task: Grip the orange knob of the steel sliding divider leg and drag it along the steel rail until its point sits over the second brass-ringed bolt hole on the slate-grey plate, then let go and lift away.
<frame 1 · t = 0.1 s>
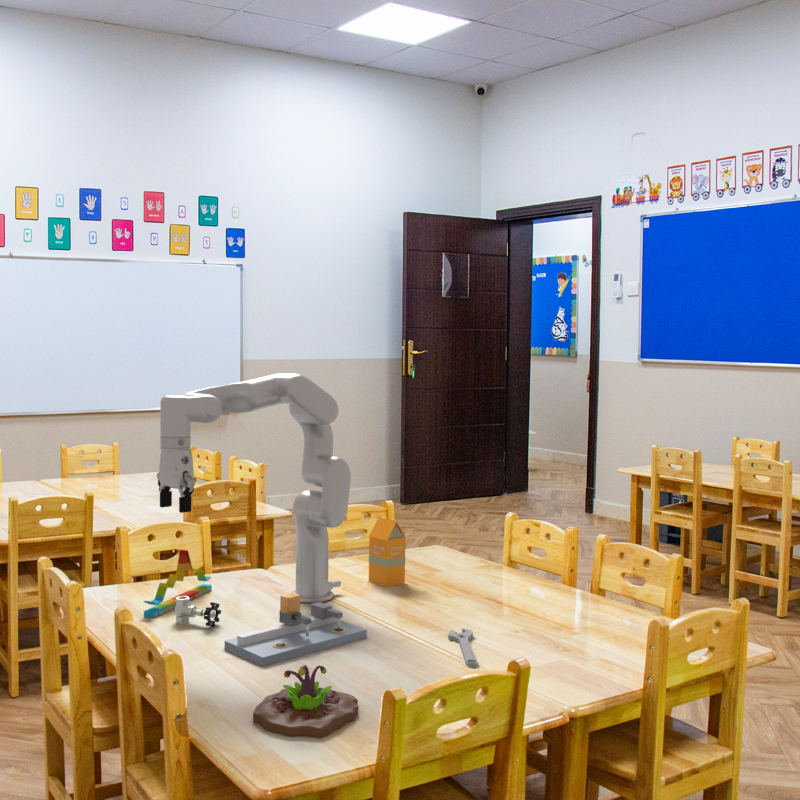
hand: (175, 509, 234), 31 cm above the table, tool pointing down, fingers open, 9 cm apart
valve: (195, 624, 240), on the table
orange juice: (386, 582, 286), on the table
divider leg: (296, 614, 225), point 7 cm above the table, slide at 0.0 cm
chart: (179, 604, 259), on the table
adjustable wrench: (462, 651, 223), on the table
bolt hole plate: (297, 642, 226), on the table
plant: (305, 718, 181), on the table
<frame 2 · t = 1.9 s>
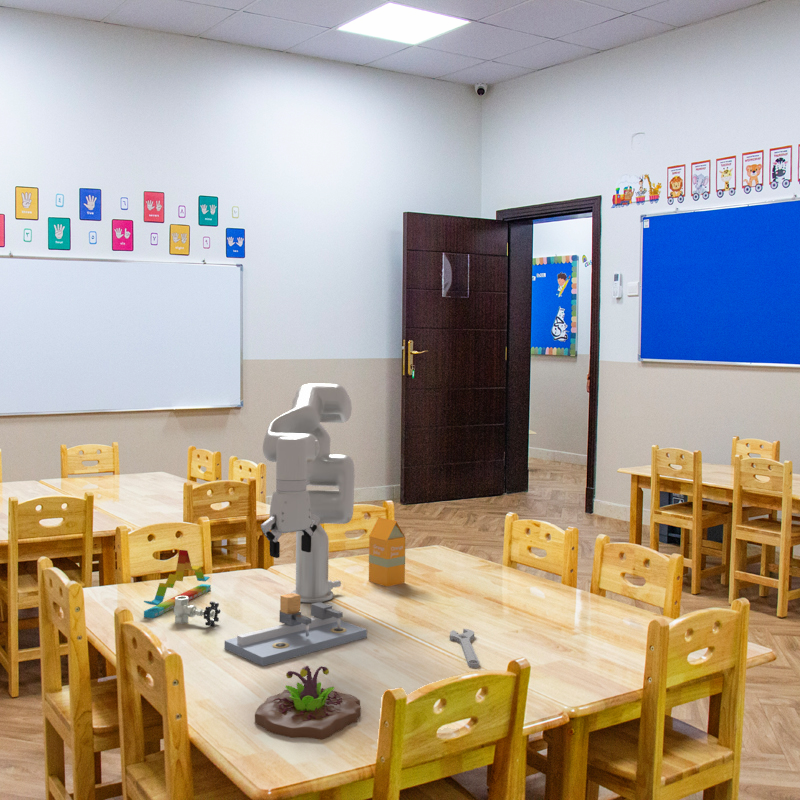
hand: (290, 554, 226), 22 cm above the table, tool pointing down, fingers open, 9 cm apart
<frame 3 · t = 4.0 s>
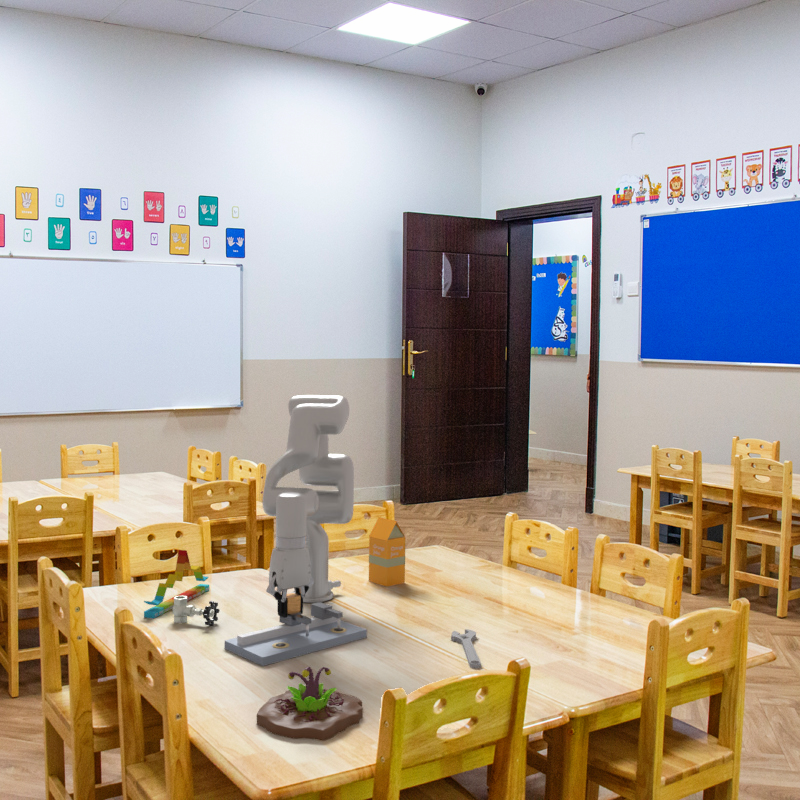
hand: (290, 613, 227), 7 cm above the table, tool pointing down, fingers closed on divider leg, 4 cm apart
divider leg: (296, 614, 225), point 7 cm above the table, slide at 0.0 cm, touching gripper
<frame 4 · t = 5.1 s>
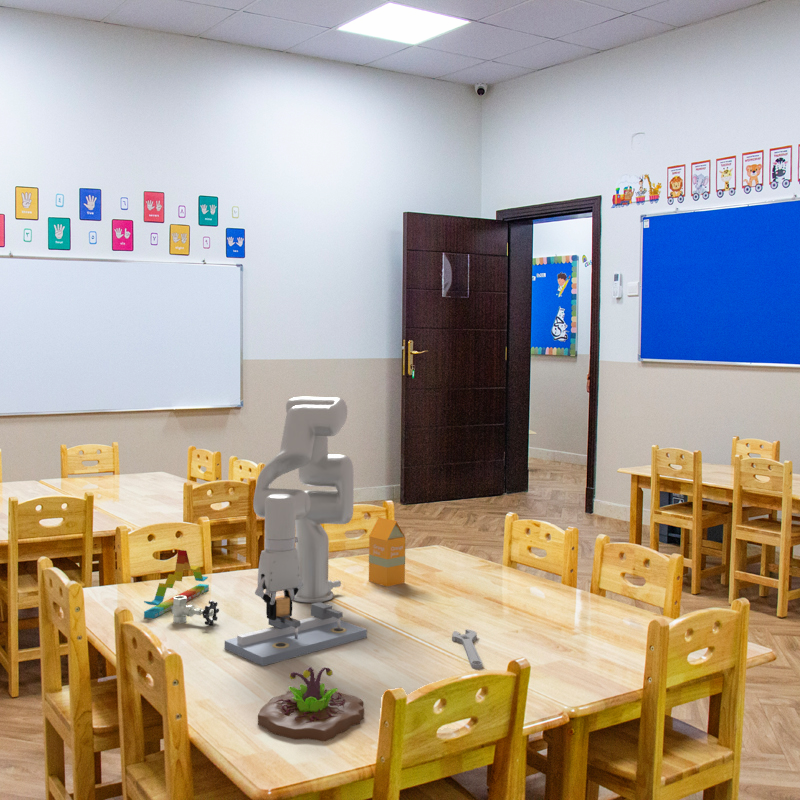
hand: (279, 616, 225), 7 cm above the table, tool pointing down, fingers closed on divider leg, 4 cm apart
divider leg: (285, 617, 223), point 7 cm above the table, slide at 3.4 cm, touching gripper
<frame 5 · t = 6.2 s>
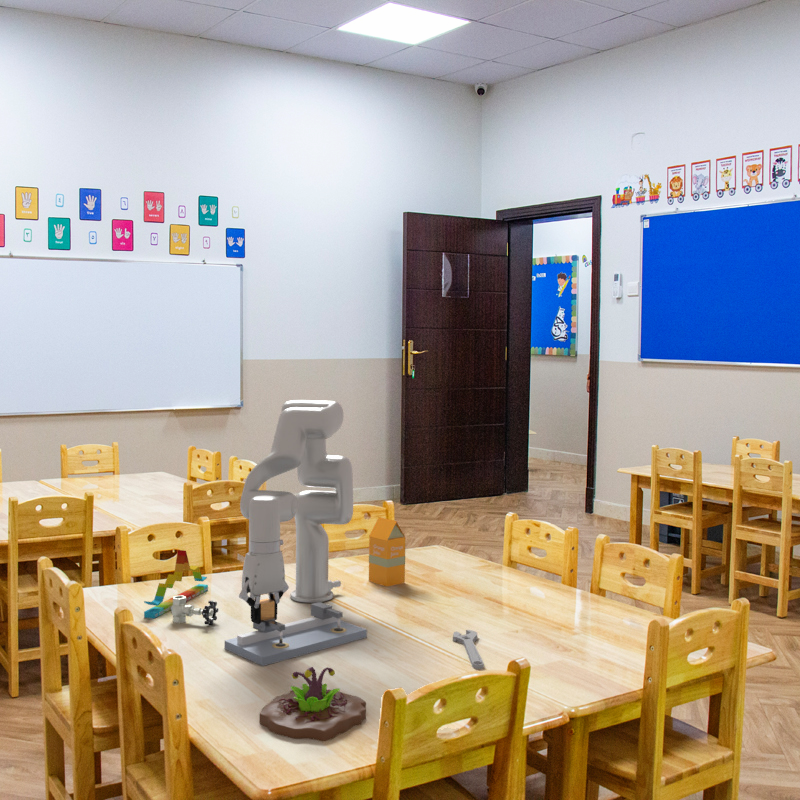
hand: (264, 620, 222), 7 cm above the table, tool pointing down, fingers closed on divider leg, 4 cm apart
divider leg: (270, 620, 220), point 7 cm above the table, slide at 8.0 cm, touching gripper
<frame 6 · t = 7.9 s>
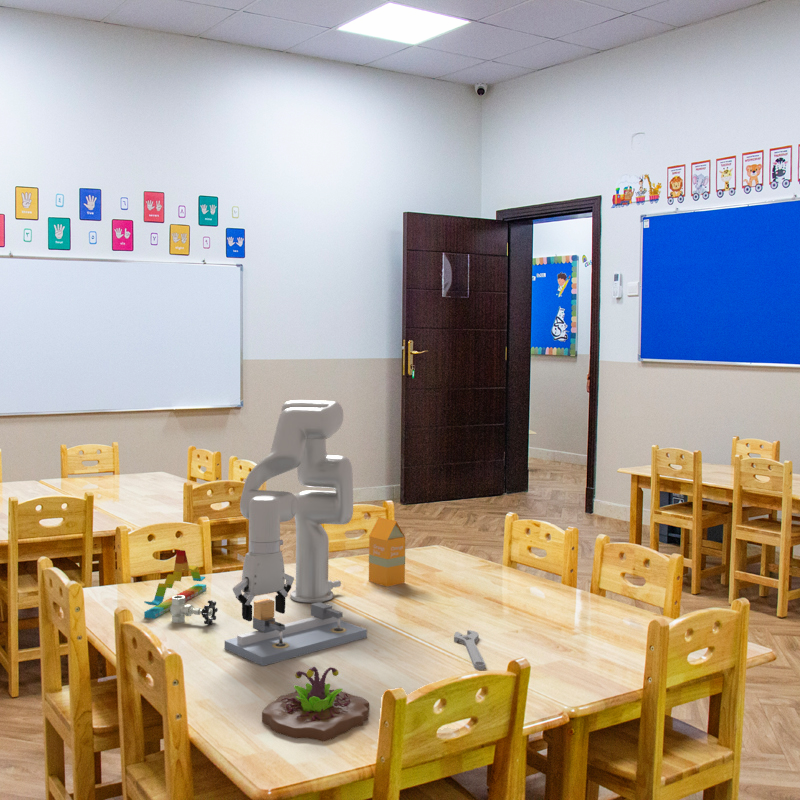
hand: (263, 616, 222), 8 cm above the table, tool pointing down, fingers open, 9 cm apart
divider leg: (269, 620, 220), point 7 cm above the table, slide at 8.0 cm
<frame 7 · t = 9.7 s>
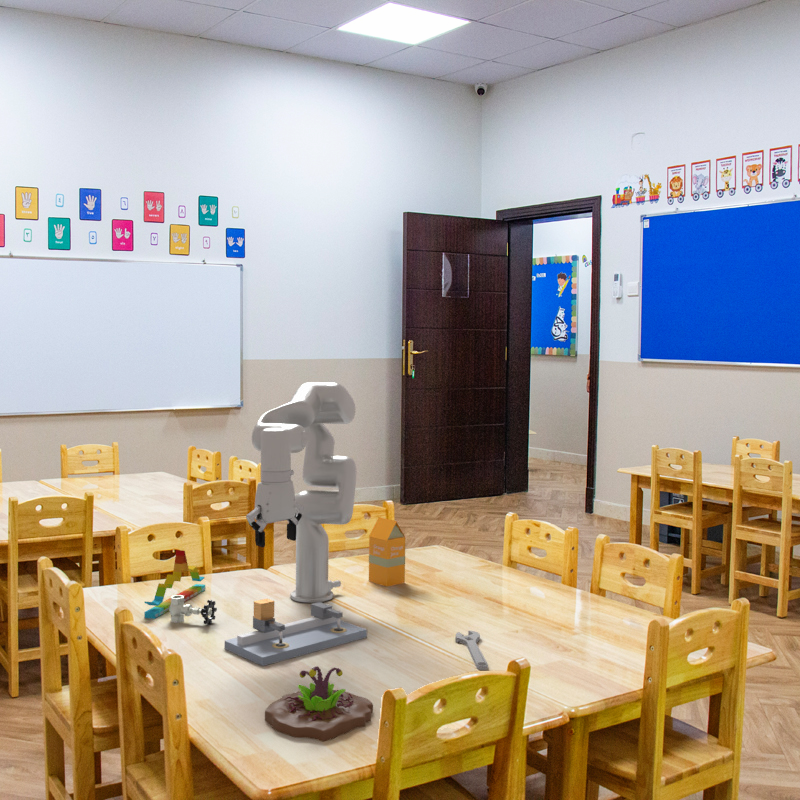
hand: (276, 542, 231), 24 cm above the table, tool pointing down, fingers open, 9 cm apart
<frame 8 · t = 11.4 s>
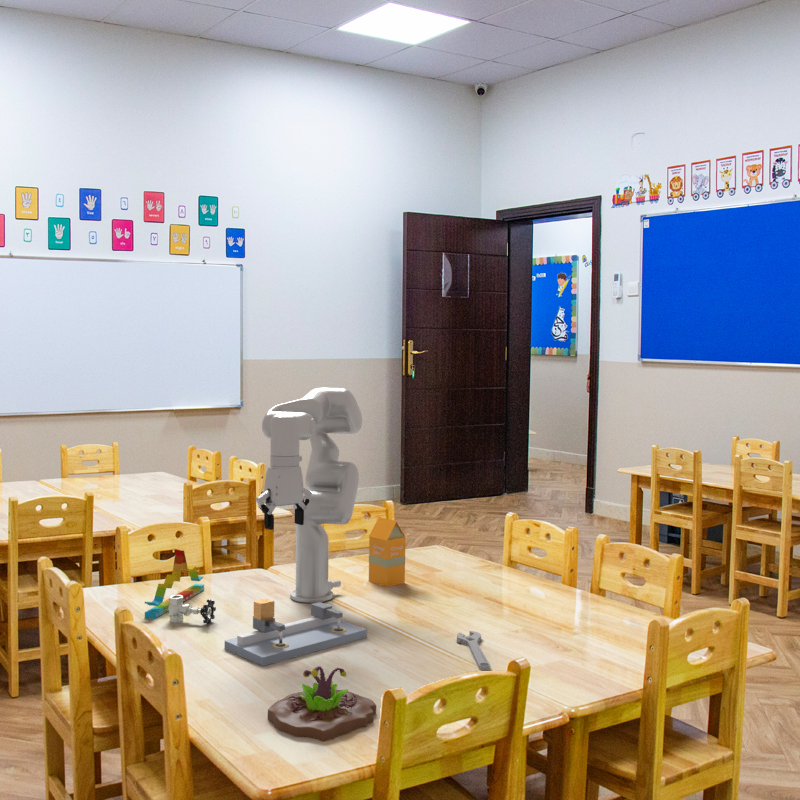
hand: (284, 526, 238), 26 cm above the table, tool pointing down, fingers open, 9 cm apart
at the end: divider leg slide at 8.0 cm; the gripper is holding nothing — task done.
